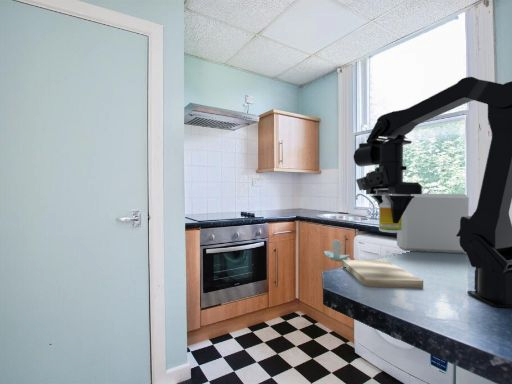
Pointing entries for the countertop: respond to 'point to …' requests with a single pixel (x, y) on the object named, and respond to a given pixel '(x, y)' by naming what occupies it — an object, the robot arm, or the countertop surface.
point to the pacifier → (336, 252)
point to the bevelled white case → (433, 223)
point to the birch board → (381, 274)
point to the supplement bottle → (388, 218)
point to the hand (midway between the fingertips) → (390, 221)
